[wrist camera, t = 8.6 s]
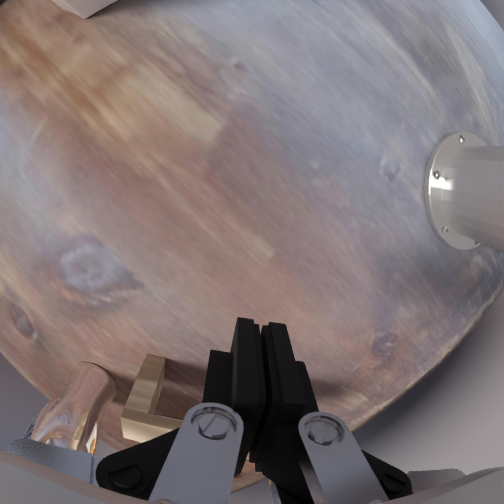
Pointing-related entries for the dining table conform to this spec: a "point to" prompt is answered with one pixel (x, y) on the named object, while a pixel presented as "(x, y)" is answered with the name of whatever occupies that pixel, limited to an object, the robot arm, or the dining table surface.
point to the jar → (83, 6)
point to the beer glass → (76, 410)
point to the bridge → (147, 404)
